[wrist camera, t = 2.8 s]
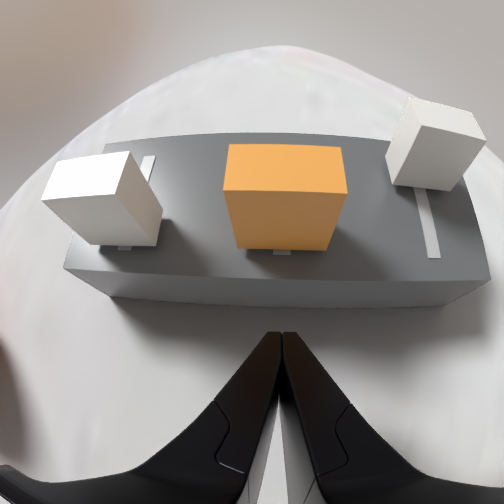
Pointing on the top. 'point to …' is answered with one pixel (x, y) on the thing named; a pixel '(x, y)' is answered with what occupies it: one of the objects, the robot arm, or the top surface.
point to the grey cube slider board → (289, 261)
